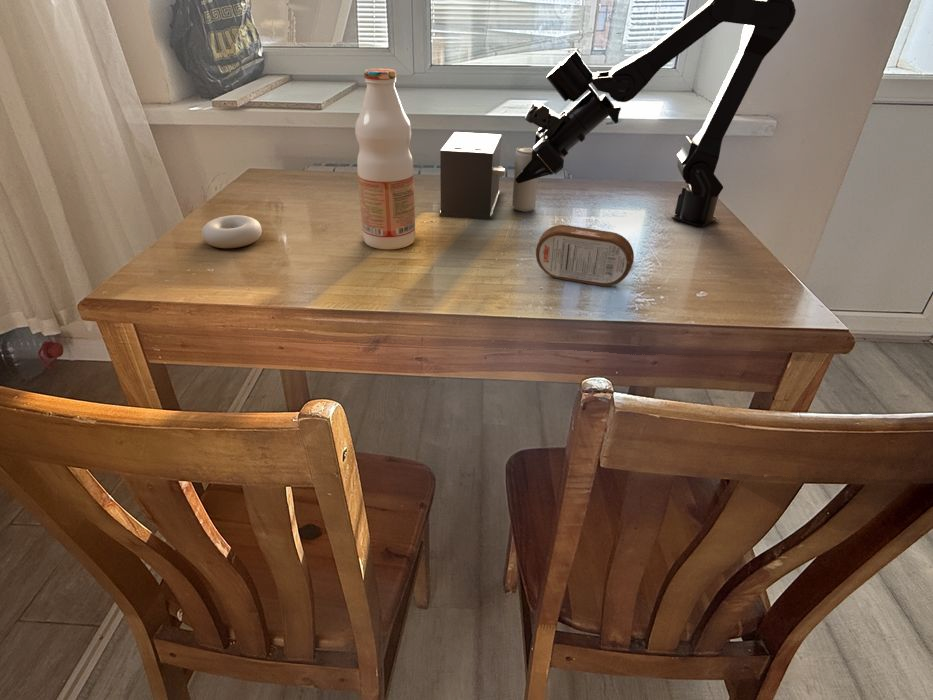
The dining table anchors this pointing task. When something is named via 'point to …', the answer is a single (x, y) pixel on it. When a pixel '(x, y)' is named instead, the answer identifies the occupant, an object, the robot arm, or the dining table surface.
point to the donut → (231, 231)
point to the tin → (584, 255)
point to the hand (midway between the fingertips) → (518, 175)
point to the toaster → (470, 175)
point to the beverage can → (526, 190)
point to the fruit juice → (385, 165)
